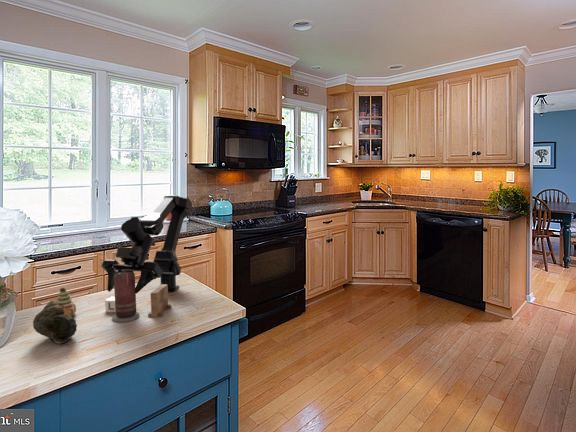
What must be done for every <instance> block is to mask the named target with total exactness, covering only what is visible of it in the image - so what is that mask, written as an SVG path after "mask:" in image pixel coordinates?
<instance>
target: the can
mask: <svg viewBox="0 0 576 432" xmlns="http://www.w3.org/2000/svg"><path fill="white" fill-rule="evenodd" d="M135 288H136V273H135V271H131V270H125V271H124V270H122V271H119V272H116V273H115V275H114V287H113V289H114V296H115V310H116V312H115V314H116V316H117V317H119V318H126V317H131V316H133V315H135V313H136V312H137V298H136V297H137V296H136V294H135V293H134V291H135Z"/></svg>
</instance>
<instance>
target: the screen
mask: <svg viewBox="0 0 576 432" xmlns="http://www.w3.org/2000/svg"><path fill="white" fill-rule="evenodd" d="M172 307H173V306H172V304H171V303H170V304H169V292H168V284H162V285H161V284H160V285H159V286H158V287H156V288H155V289H154V290H153V291H151V292H150V310H151V311H149V312H148V313H147V317H148V318H149V317H150V318H162V317H163V316H164V312H165V311H166V310H167V309H168V310H170V309H171V308H172Z"/></svg>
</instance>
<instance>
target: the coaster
mask: <svg viewBox="0 0 576 432" xmlns="http://www.w3.org/2000/svg"><path fill="white" fill-rule="evenodd" d="M139 317H140V313H139V312H138V311H136V313H135V315H133V316H131V317H126V318H119V317H117V316H116V313H115V314H113V315H112V317H111V320H112V322H114V323H120V324H121V323H129V322H132V321H135V320H137V319H138V318H139Z"/></svg>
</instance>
